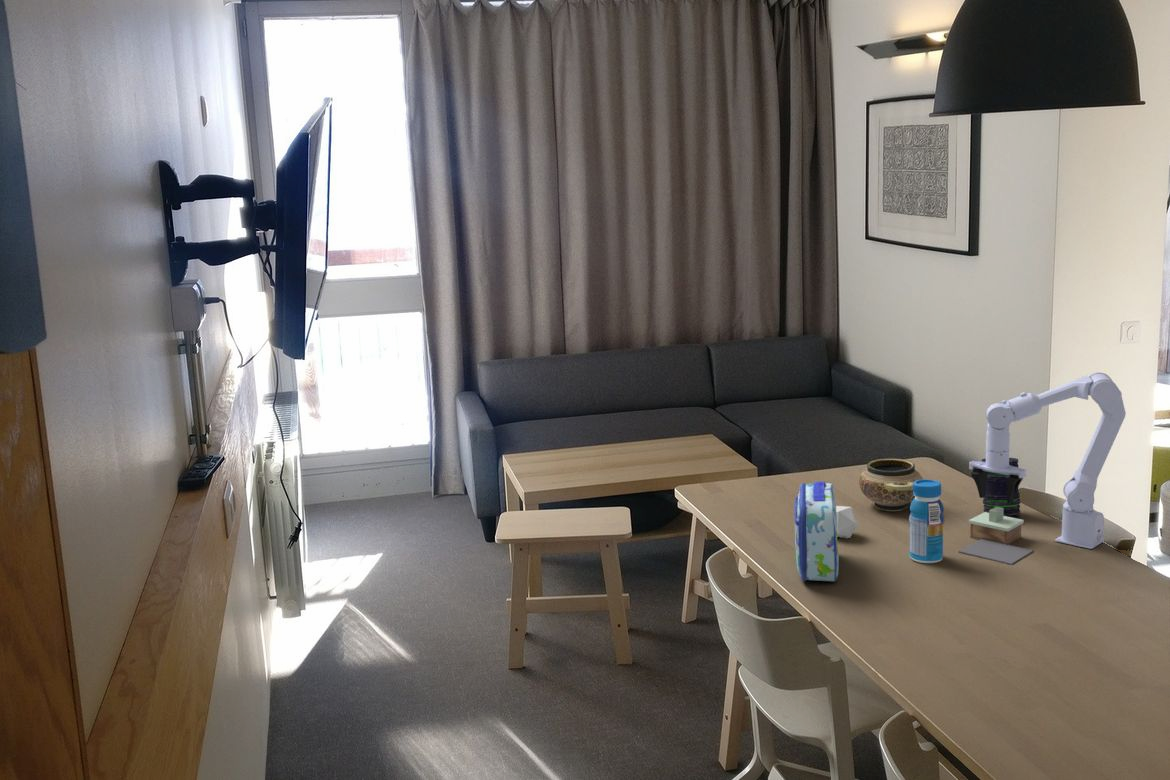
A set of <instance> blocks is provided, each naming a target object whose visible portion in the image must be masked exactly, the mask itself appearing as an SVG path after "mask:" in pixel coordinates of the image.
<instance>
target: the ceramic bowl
mask: <svg viewBox="0 0 1170 780" xmlns="http://www.w3.org/2000/svg"><path fill="white" fill-rule="evenodd" d="M915 466H916V465H915V463H914V462H913V461H912V460H911V461H910V460H908V459H903V458H878V459H873V460H871V461H868V462H867V464H866V469H865V470H863V471H862V472H861V474H860V475H859V478H858V486H859V488H860V491H861V493H862V494H863V495H864V496H865V497H866V499H868V500H870V501H871V502H872V503H873V506H874V508H876V509H878V510H880V511H884V510H885V511H886V512H900V511H904V510H906V509H907V508H908V504H909V503H912V501H913V499H914V498H915V496H914V494H913V483H914V482H915V481H917V480H922V479H924V478H923V476H922V475H921V473H920V472H919V471H918V470H917V469H916V468H915Z"/></svg>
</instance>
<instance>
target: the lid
mask: <svg viewBox="0 0 1170 780" xmlns="http://www.w3.org/2000/svg"><path fill="white" fill-rule="evenodd" d="M1003 513H1004V508H1001V507H995V508H993V509H991V510H989V513H987V512H984V511H983V512H982V513H980V514H978V515H976V516H974V517H972V518H970V519H968V524H970V525H971V524H975V525H980V526H984V527H989V528H994V529H998V530H1003V531H1010V530H1012V529H1014V528H1015V527H1017V526H1019V525H1021V526H1022V524H1024V519H1020V518H1016V517H1012V516H1008V515H1003Z"/></svg>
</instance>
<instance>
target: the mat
mask: <svg viewBox="0 0 1170 780" xmlns="http://www.w3.org/2000/svg"><path fill="white" fill-rule="evenodd" d="M1033 552H1034V549H1030V548H1029V549H1028V548H1024V547H1019V546H1016V545H1011V544H1009V545H1007V544H1003V543H998V542H994V541H989V540H985V539H977V540H975V541H974V542H973V543H971V544H969V545H967V546H965V547H964V548H962V549H960V550H958V553H960V554H961V553H962V554H965V555H968V556H972V557H978V558H981V559H986V560H989V561H994V562H999V563H1001V564H1002V563H1003V564H1006V565H1011V566H1012V565H1014V564H1015V563H1016V562H1019V561H1020V560H1022V559H1024V558H1025V557H1026V556H1027V557H1028V556H1029V555H1030V554H1031V553H1033Z"/></svg>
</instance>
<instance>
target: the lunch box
mask: <svg viewBox="0 0 1170 780" xmlns="http://www.w3.org/2000/svg"><path fill="white" fill-rule="evenodd" d="M798 490H799V491H798V494H797V496H796V497H795V499H794V539H795V540H794V542H795V543H794V547H795V561H796V568H797V569H796V570H797V572H798V574H799V577H800V579H801V580H802V581H803V582H806V581H807V580H808V581H816V582H817V581H818V582H819V581H822V582H837V580H838V576H839V567H840V566H839V565H840V561H839V560H840V559H839V558H840V557H839V548H838V538H837V512H836V506H837V501H836V500H837V499H836V493H835V489H834V485H833V484H832V483H829V482H828V483H827V482H826V483H825V481H824V480H823V481H813V483H807V484H806V483H804V482H803V483H800V484H799V489H798Z"/></svg>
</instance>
